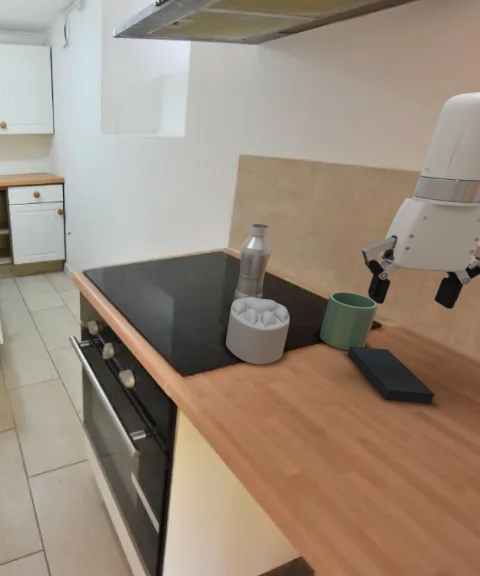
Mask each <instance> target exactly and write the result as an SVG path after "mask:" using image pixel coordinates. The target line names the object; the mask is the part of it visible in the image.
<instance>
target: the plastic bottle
mask: <svg viewBox="0 0 480 576" xmlns="http://www.w3.org/2000/svg"><path fill="white" fill-rule="evenodd" d="M269 228H270V226H269V225H267V224H262V223H254V224H251V225H250V230H249V233H248V234H249V235H250V236H249V237H247V238H246V239H245V240H244V242H243V243H242V244H241V246H240V266H239V267H240V268H239V274H238V275H239V276H238V280H237V284H236V288H235V291H234V294H233V295H232V296H233V297H232V303H233V302H234V301H235V300H237V299H241V298H247V297H253V298H258V299H264V293H263V292H264V291H263V290H264V279H265V275H266V270H267V267H268V264H269V261H270V258H271V255H272V246H271V244H270V242H269V240H268V238H267V236H269Z"/></svg>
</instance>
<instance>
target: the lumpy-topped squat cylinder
mask: <svg viewBox="0 0 480 576" xmlns="http://www.w3.org/2000/svg"><path fill="white" fill-rule="evenodd" d="M290 321H291V318H290V313H289V311H288V309H287V307H286V306H284V305H282V304H280V303H278V302H276V301H275V300H273V299H266V298H263V299H258V298H253V297H247V298H241V299H237V300H235V301H234V302H233V301H232V304H231V306H230V312H229V319H228V325H227V331H226V339H225V345H226V346H225V347H226V348H227V349H228V350H229V351H230V352H231V353H232V355H234V356H235V357H236V358H239V359H240V360H242V361H244V362H246V363H249V364H253V365H267V364H272V363H275V362H277V361H278V360H280V359H281V358H282V357H283V355H284V350H285V345H286V341H287V336H288V333H289V326H290Z"/></svg>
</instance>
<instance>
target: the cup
mask: <svg viewBox="0 0 480 576" xmlns="http://www.w3.org/2000/svg"><path fill="white" fill-rule="evenodd" d="M378 307H379V304H378V303H376V302H375V301H374V300H372V299H371V298H370V297H369V296H366V295H363V294H360V293H357V292H356V293H355V292H351V291H334V292H331V293H329V295H328V300H327V303H326V309H325V312H324V316H323V320H322V324H321V327H320V332H319V339H320V340H321V341H322V342H324V343H325V344H327V345H328V346H331V347H333V348H336V349H340V350H344V351H349V349H350V347H363V348H366V345H367V343H368V340H369V336H370V333H371V329H372V326H373V324H374V320H375V316H376V314H377V310H378Z"/></svg>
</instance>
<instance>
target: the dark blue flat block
mask: <svg viewBox="0 0 480 576" xmlns="http://www.w3.org/2000/svg"><path fill="white" fill-rule="evenodd" d="M347 356H348V357H349V358H350V359H351V360H352V361H353V363H354V364H355V365H356V366H357V368H359V370H360V371H361V372H362V374H363V375H364V376H365V377H366V378H367V379H368V380H369V382H370V383H371V384H372V385H373V386H374V388H376V390H377V391H378V393H380V395H381V396H382V397H383V398H384V399H385V400H391V401H403V402H412V403H424V404H431V403H432V402H433V399H434V396H435V393H434V392H433V391H432V390H431V389H430V388H429V387H428V386H427V385H426V384H425V383H424V382H423V381H422V380H421V379H420V378H418V377H417V375H415V373H413V372H412V371H411V369H409V368H408V367H407V366H406V365H405V364H404V363H403V362H402V361H401V360H400V359H399V358H397V357H396V356H395V355H394V354H393V353H392V352H391V351H390V350H389V349H388V348H375V347H364V348H363V347H350V349H349V350H348V353H347Z"/></svg>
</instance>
